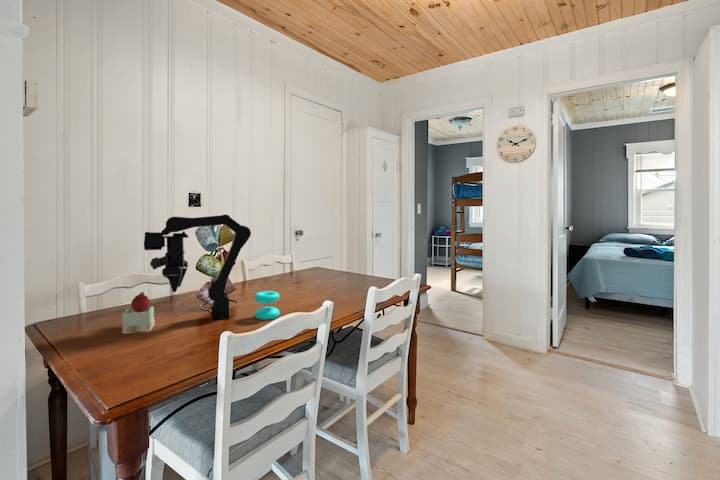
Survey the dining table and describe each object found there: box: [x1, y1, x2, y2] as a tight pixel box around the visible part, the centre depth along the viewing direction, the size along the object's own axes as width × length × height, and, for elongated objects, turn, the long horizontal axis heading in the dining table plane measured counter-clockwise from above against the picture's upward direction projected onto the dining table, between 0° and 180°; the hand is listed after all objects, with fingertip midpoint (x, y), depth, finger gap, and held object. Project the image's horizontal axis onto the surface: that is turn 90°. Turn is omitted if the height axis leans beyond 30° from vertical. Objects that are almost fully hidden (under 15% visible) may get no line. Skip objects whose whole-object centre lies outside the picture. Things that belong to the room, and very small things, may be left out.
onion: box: [130, 291, 151, 313], centre depth 137 cm, size 6×6×8 cm
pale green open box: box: [121, 306, 155, 327], centre depth 137 cm, size 8×8×4 cm
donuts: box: [254, 290, 280, 321], centre depth 154 cm, size 10×10×10 cm
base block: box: [122, 317, 156, 335], centre depth 137 cm, size 8×8×3 cm
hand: (176, 289), depth 145 cm, fingers open, 9 cm apart
